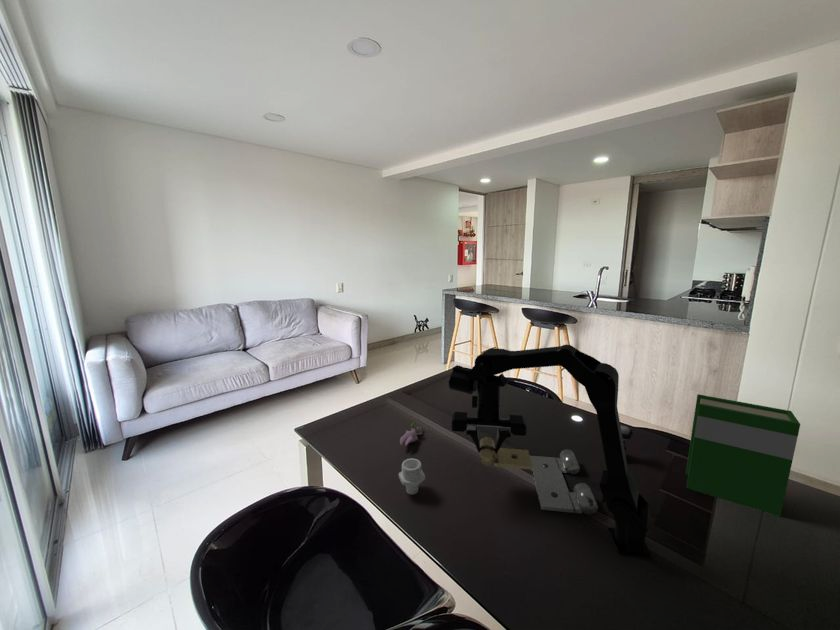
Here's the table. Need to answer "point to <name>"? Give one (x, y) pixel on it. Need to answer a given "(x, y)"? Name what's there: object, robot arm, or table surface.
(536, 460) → the steel hinge leaf
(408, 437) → the purple flower
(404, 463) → the pipe fitting
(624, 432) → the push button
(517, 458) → the brass hinge leaf
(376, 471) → the table surface
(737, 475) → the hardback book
